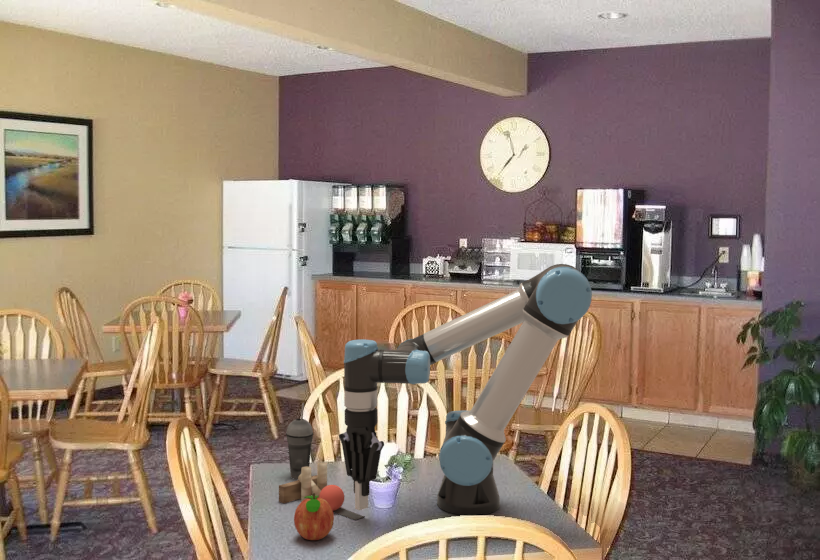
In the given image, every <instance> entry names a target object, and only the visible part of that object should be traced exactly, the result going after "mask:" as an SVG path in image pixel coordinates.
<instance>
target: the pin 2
mask: <svg viewBox="0 0 820 560" xmlns="http://www.w3.org/2000/svg"><path fill="white" fill-rule="evenodd" d="M316 468H317V469H316V472H317V473H316V475H317V486H318V488H319V489H320V490H322V489H323V488H324V487H326V486H328V463H327V462H324V461H323V462H317V467H316Z"/></svg>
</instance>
